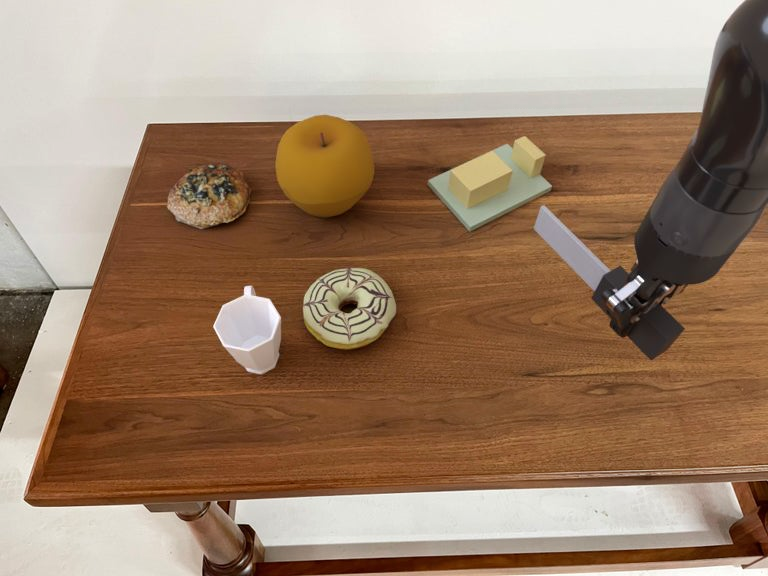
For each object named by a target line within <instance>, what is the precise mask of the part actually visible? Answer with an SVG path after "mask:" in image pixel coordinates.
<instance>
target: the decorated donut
mask: <svg viewBox="0 0 768 576" xmlns="http://www.w3.org/2000/svg"><path fill="white" fill-rule="evenodd" d="M302 304H303V305H302V313H303V321H304V325H305V327H306V329H307V330H308V332H309V333H310V334H311V335H312V336H313V337H314V338H316V340H317V341H319V342H320V343H322V344H324V345H325V346H327V347H330V348H334V349H338V350H355V349H358V348H362V347H366V346H368V345H369V344H371V343H373V342H374V341H376V340H377V339H379V338H380V337H381V336H382V335H383V334H384V333H385V331H386V330H387V328H388V327H389V324H390V323H391V321H392V320H393V318H394V317H395V316H396V314H397V303H396V300H395V297H394V294H393V291H392V289H391V288H390V286H389V285H388V284H387V282H386V281H385V280H384V279H383V278H382V277H381V276H380V275H378V274H377V273H376V272H374V271H372V270H371V269H368V268H362V267H348V268H339V269H335V270H332V271H330V272H328V273H326V274H324V275H322V276H320V277H318V278H317V279H316V280H315V282H313V283H312V284H311V285H310V286H309V288H308V290H307V291H306V292H305V294H304V296H303V303H302ZM349 304H354V305H356V306H357V307H356V308H355V309H354V310H352V311H351V312H349V313H347V312H344V311H342V308H343V307H345V306H346V305H349Z"/></svg>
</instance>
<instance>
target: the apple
mask: <svg viewBox="0 0 768 576" xmlns="http://www.w3.org/2000/svg"><path fill="white" fill-rule="evenodd" d="M374 161H375V160H374V155H373V150H372V146H371V145H370V142H369V140H368V138H367V136H366V134H365V133H364V132H363V131H362V129H360V128H359V127H358V126H357V125H356V124H354V123H352V122H350V121H349V120H346V119H343V118H341V117H338V116H334V115H329V114H319V115H317V114H316V115H313V116H311V117H308V118H305V119H303V120H299V121H298V122H296V123H295V124H293V125H292V126H290V127H289V128H288V129H287V130H286V131H285V132H284V134H283V135H282V136H281V139H280V140H279V142H278V145H277V149H276V157H275V163H274V165H275V166H274V167H275V175H276V180H277V182H278V185H279V187H280V189H281V190H282V192H283V193H284V195H285V196H286V198H287V199H288V200H290V202H292V203H293V204H294V205H295V206H296V207H298V208H299V209H301V210H302V211H303V212H305V213H307V214H308V215H310V216H314V217H319V218H325V219H327V218H331V217H337V216H340V215H342V214H343V213H345V212H347V211H348V210H350V209H352V208H353V207H354V205H356V204H357V203H358V201H360V200H361V199H362V198H363V197H364V195H365V194H366V193H367V192H368V190H369V189H370V188H371V186H372V182H373V179H374V175H375V162H374Z"/></svg>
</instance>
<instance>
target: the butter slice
mask: <svg viewBox="0 0 768 576" xmlns="http://www.w3.org/2000/svg"><path fill="white" fill-rule="evenodd" d="M512 148H513V151H512V155H511V160H512V161H513V162H514V163H515V164H516V165H517V166H519V167H520V168H521V169H522V170H523V171H524V172H525V173H526V174H527V175H528V176H529V177H530V178H532V177H534V176H536V175H538V174H540V175H541V172H542V169H543V166H544V162H545V159H546V153H544V151H542V150H541V148H539V147H538V146H537V145H535V144H534V143H533V141H531V140H530V139H529V138H528V137H527V136H526V135H523V136H522V137H519V138H517V139H515V140H514V142H513V146H512Z"/></svg>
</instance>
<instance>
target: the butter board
mask: <svg viewBox="0 0 768 576" xmlns="http://www.w3.org/2000/svg"><path fill="white" fill-rule="evenodd" d="M491 151H493V152H494V153H495V154H496V155H497V156H498V157H499V158H500V159H501V160H502V161H503V162H504V163H505V164H507V165H508V166H509V167H510V168H511V169H512V170H513V172H512V176H511V180H510V184H509V189H507V190H505V191H503V192H501V193H499V194H497V195H495V196H493V197H491V198H489V199H487V200H485V201H483V202H481V203H479V204H477V205H474V206H472V207H470V208H468V209H467V208H466V207H465V206H464V205H463V204H462V202H461V201H460V200H459V199H458V198H457V197H456V196H455V195H454V194H453V193H452V192H451V191H450V189H449V188H448V187H449V179H450V171H451V170H452V169H454V168H456V167H457V166H456V167H453V168H451V169H449V170H447V171H445V172H443V173H440V174H438V175H436V176H434V177H432V178H429V179H428V180H427V187H429V188H430V189H431V190H432V192H433V193H434V194H435V195H436V196H437V197H438V199H440V201H441V202H442V204H444V205H445V206H446V207H447V209H448V210H449V211H450V212H451V213H452V214H453V215H454V216H455V217H456V218H457V219H458V221H459V222H460V223H461V224H462V225H463V227H465V228H466V230H467V231H468V232H473V231H475V230H476V229H478V228H480V227H482V226H485V225H486V224H488V223H490V222H492V221H494V220H496V219H498V218H500V217H502V216H503V215H506V214H508V213H510V212H512V211H514V210H516V209H518V208H520V207H522V206H523V205H527V204H528V203H530V202H532V201H534V200H536V199H538V198H540V197H542V196H543V195H545V194H548V193H549V192H551V191H552V188H553V185H552V184H550V182H548V180H546V178H545V177H543V176H542V174H541V173H540V174H538V175H536V176H534V177H532V178H530V177H529V176H528V175H527V174H526V173H525V172H524V171H523V170H522V169H521V168H520V167H519V166H517V165H516V164H515V163H514V162H513V161H512V160H511V155H512V151H513V147H512V146H511V145H510V144H508V143H506V144H503V145H501V146H498V147H497V148H495V149H492V150H490V151H489V152H491ZM482 155H483V154H481V155H479V156H477V157H476V158H478V157H480V156H482ZM469 161H470V160H469ZM469 161H466V162H464V163H462V164H461V165H463V164H465V163H467V162H469Z"/></svg>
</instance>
